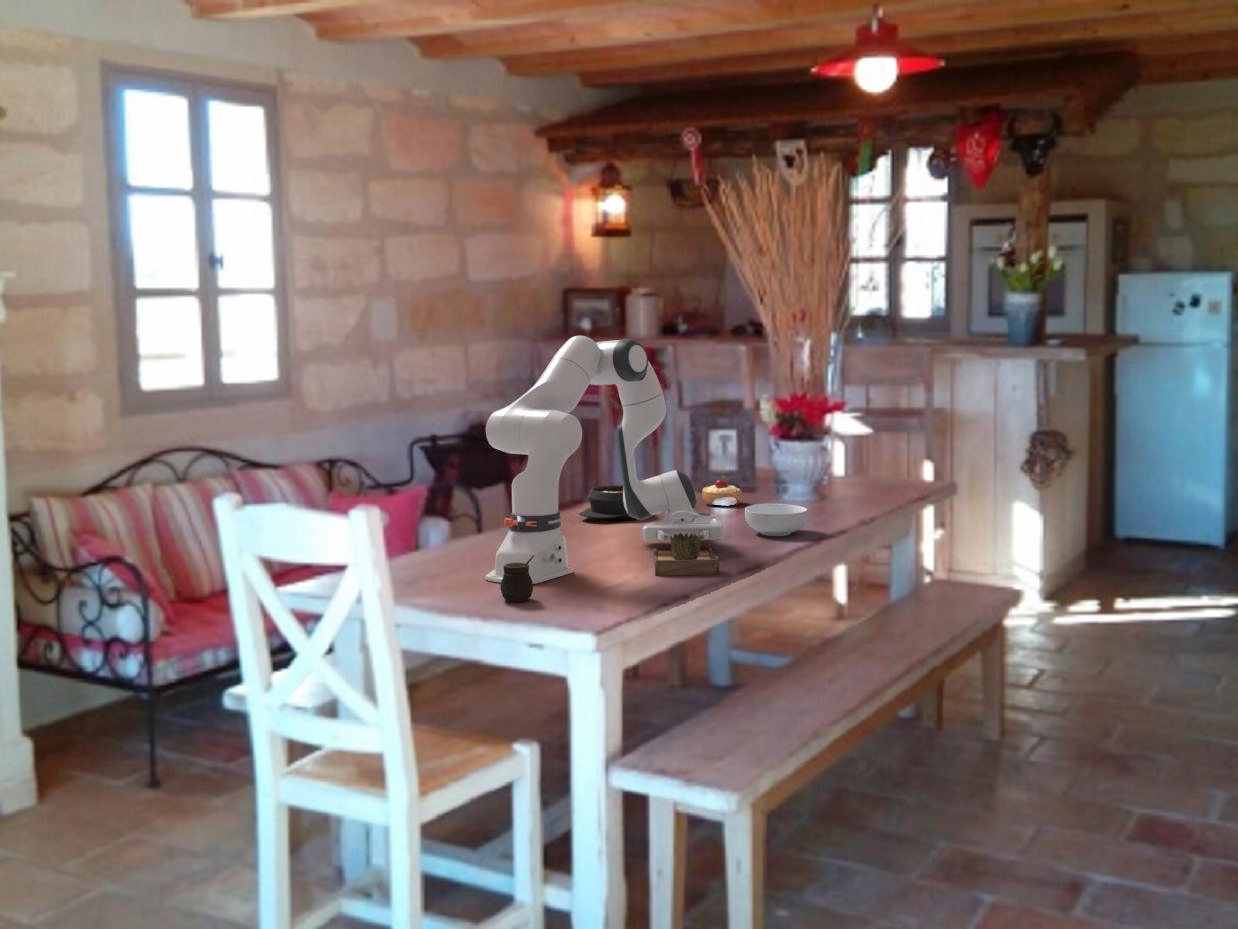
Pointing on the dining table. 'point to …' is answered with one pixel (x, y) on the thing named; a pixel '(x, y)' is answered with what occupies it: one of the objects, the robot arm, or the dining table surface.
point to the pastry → (720, 492)
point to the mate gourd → (516, 582)
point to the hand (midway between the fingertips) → (683, 537)
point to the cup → (685, 546)
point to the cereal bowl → (775, 518)
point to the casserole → (606, 503)
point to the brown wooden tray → (686, 564)
